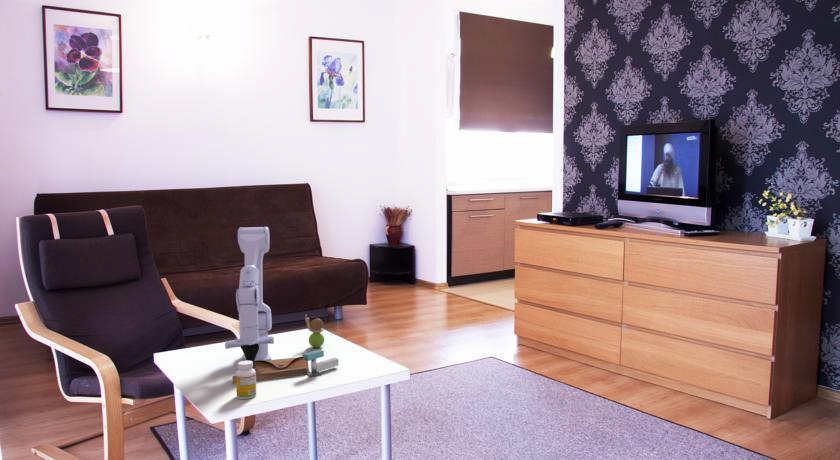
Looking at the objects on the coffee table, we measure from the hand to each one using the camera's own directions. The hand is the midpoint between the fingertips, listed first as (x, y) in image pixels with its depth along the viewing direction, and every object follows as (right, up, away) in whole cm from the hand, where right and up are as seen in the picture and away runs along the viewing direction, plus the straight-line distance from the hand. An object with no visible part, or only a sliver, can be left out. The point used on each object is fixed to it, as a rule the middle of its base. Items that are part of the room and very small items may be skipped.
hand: (250, 368), depth 207 cm
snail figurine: (+15, +1, +29) cm, 33 cm away
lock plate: (+20, -2, -1) cm, 20 cm away
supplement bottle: (+4, -4, -20) cm, 21 cm away
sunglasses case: (+9, -2, +2) cm, 10 cm away
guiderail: (+7, -2, -4) cm, 9 cm away
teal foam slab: (+22, -1, +1) cm, 22 cm away
